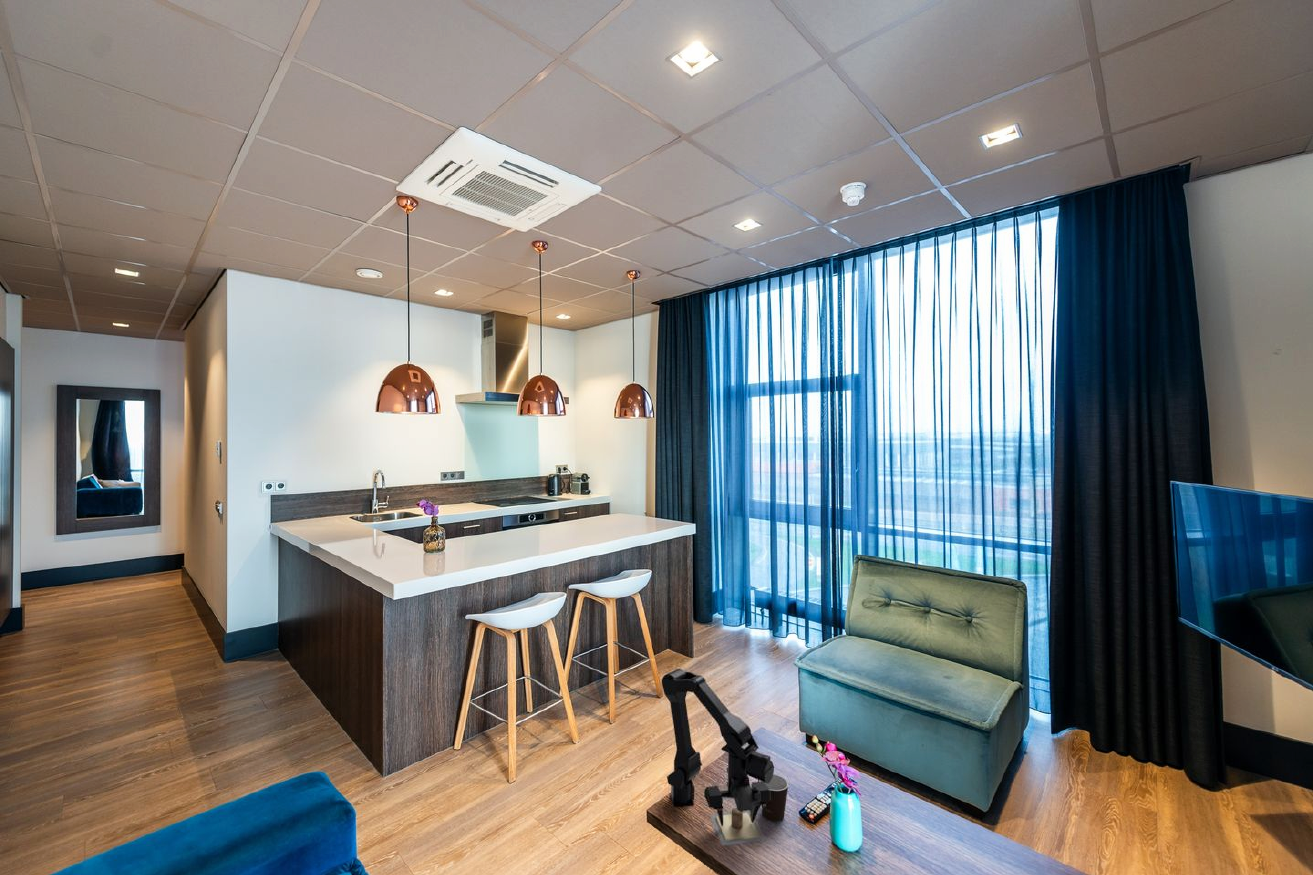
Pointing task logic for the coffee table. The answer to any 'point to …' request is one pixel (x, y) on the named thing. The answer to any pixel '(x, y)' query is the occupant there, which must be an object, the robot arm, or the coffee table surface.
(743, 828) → the lid
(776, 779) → the coffee mug
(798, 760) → the coffee table surface
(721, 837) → the mat
